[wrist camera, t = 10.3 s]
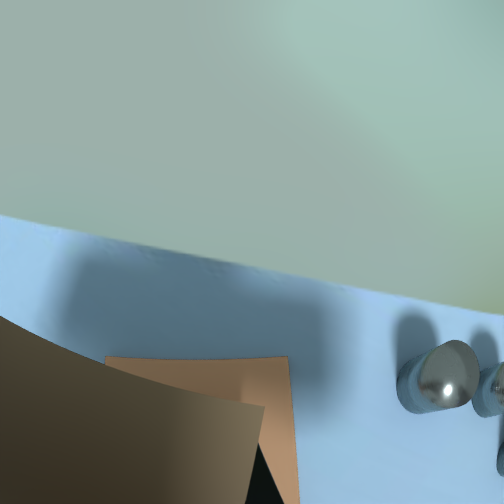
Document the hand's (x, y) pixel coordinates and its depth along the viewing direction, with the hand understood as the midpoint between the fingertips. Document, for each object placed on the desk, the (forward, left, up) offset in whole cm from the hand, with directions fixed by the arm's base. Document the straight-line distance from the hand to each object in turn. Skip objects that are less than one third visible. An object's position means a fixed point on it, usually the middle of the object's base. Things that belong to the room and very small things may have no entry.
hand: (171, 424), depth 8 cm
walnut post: (0, -1, -7) cm, 7 cm away
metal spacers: (+20, -4, -8) cm, 22 cm away
